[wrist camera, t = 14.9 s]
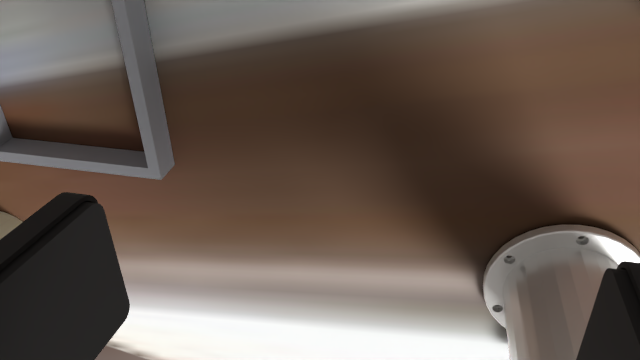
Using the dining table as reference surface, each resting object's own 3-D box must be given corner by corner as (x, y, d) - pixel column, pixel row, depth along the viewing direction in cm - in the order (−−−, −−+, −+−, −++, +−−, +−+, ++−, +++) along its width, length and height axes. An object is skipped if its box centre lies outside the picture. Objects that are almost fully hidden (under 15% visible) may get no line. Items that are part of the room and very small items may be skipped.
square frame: (174, 164, 45) (161, 179, 43) (6, 146, 48) (-14, 159, 46) (135, -45, 36) (115, -39, 34) (-69, -51, 39) (-98, -46, 37)
